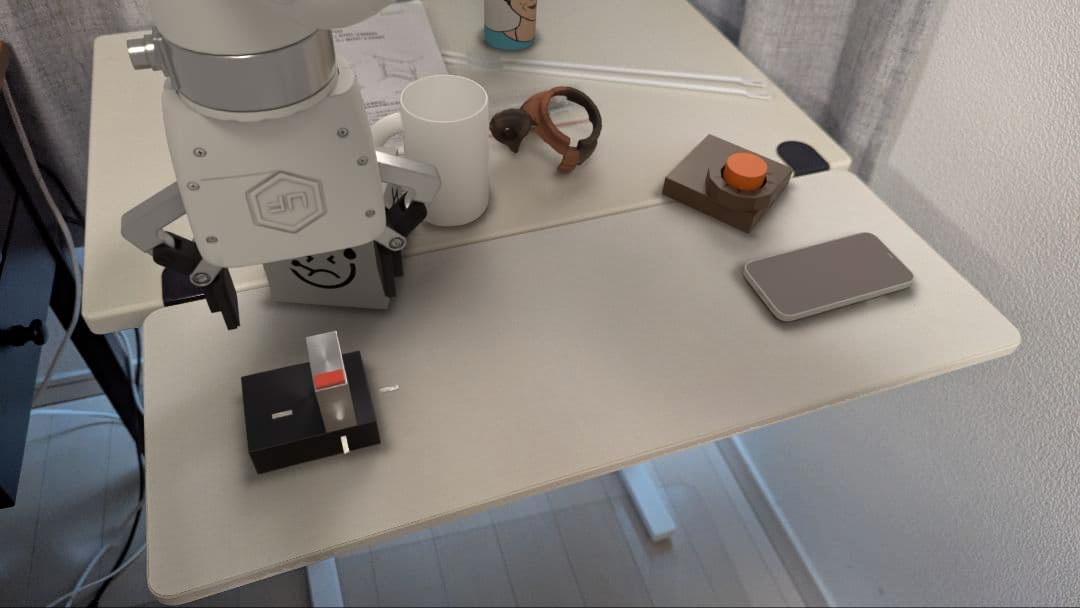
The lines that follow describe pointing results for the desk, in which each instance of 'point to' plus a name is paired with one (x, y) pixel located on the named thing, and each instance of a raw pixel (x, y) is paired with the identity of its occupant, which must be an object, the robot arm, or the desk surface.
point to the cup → (510, 23)
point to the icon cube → (334, 271)
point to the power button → (745, 171)
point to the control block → (723, 184)
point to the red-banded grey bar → (330, 381)
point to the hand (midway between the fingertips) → (311, 297)
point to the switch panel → (303, 416)
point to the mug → (445, 142)
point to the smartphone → (827, 275)
